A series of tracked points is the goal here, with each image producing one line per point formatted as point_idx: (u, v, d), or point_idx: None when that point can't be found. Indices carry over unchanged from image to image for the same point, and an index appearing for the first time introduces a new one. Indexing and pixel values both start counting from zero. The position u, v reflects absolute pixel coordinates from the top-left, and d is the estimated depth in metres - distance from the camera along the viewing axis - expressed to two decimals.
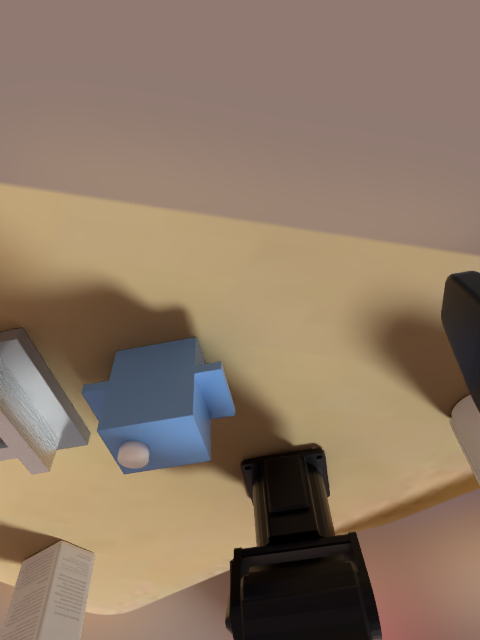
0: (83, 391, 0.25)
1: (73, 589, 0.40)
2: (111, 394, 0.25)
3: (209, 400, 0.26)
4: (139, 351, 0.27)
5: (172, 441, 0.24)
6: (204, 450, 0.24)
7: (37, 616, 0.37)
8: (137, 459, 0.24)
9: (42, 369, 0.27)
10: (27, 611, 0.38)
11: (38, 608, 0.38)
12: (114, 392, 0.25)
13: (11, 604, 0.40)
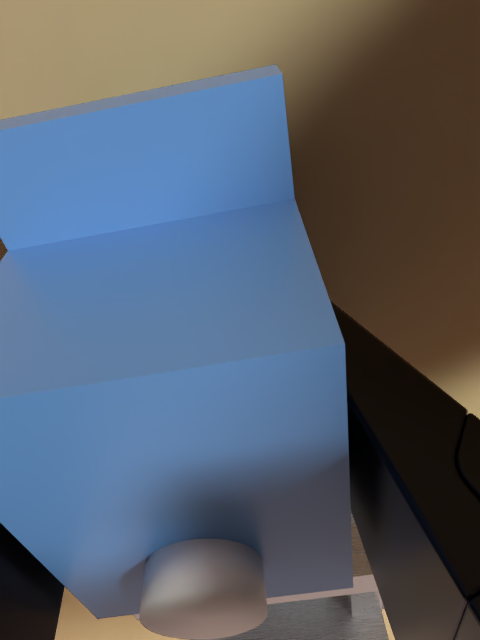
0: None
1: None
2: None
3: (166, 200, 0.06)
4: None
5: (141, 484, 0.05)
6: (227, 372, 0.04)
7: None
8: (205, 610, 0.06)
9: None
10: None
11: None
12: None
13: None
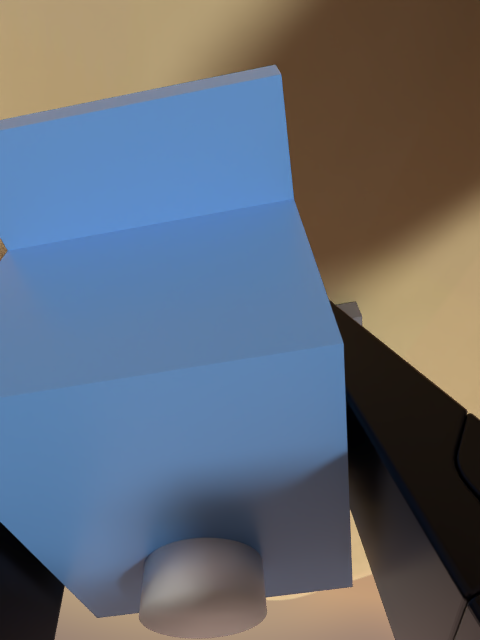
0: None
1: None
2: None
3: (165, 200, 0.06)
4: None
5: (140, 483, 0.05)
6: (226, 372, 0.04)
7: None
8: (205, 609, 0.06)
9: None
10: None
11: None
12: None
13: None
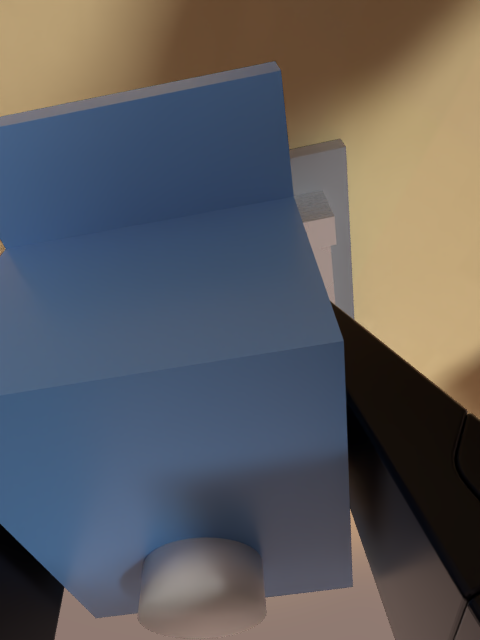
0: None
1: None
2: None
3: (164, 198, 0.06)
4: None
5: (138, 482, 0.05)
6: (225, 369, 0.04)
7: None
8: (204, 609, 0.06)
9: None
10: None
11: None
12: None
13: None
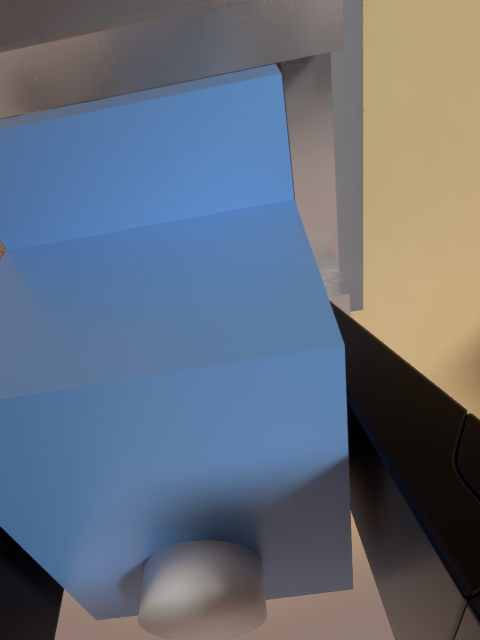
0: None
1: None
2: None
3: (165, 200, 0.06)
4: None
5: (139, 487, 0.05)
6: (226, 374, 0.04)
7: None
8: (204, 612, 0.06)
9: None
10: None
11: None
12: None
13: None
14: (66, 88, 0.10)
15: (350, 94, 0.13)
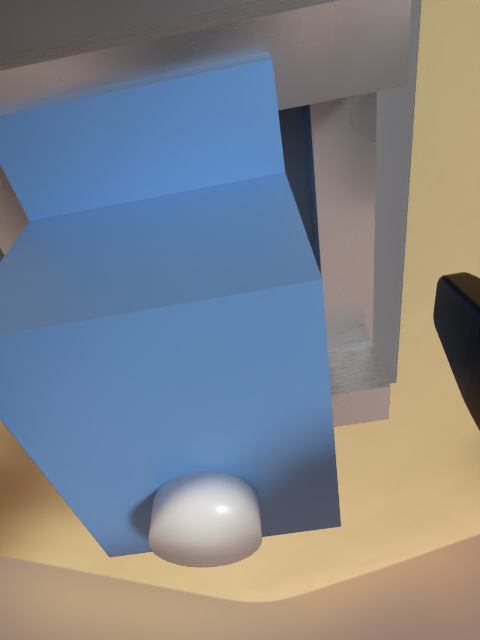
0: None
1: None
2: None
3: (170, 173, 0.07)
4: None
5: (150, 414, 0.06)
6: (224, 306, 0.05)
7: None
8: (206, 534, 0.06)
9: None
10: None
11: None
12: None
13: None
14: None
15: (396, 134, 0.10)
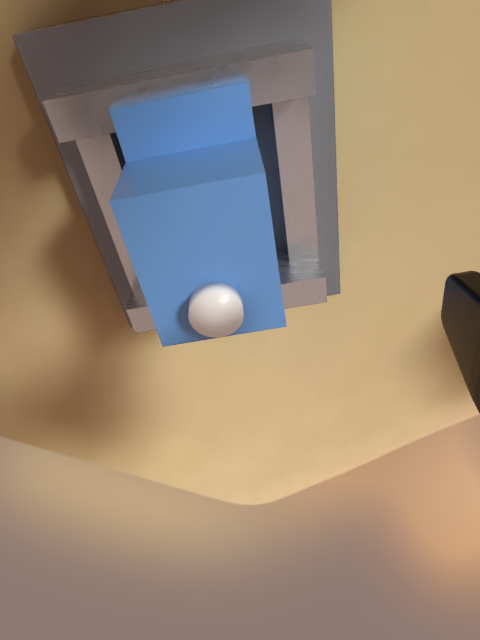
0: None
1: None
2: None
3: (199, 137, 0.13)
4: None
5: (192, 243, 0.12)
6: (226, 184, 0.11)
7: None
8: (217, 310, 0.13)
9: (103, 16, 0.14)
10: None
11: None
12: None
13: None
14: None
15: (325, 122, 0.16)
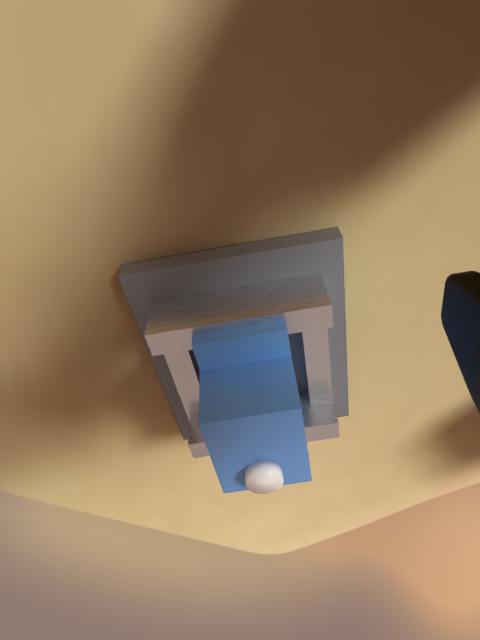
0: None
1: None
2: None
3: (251, 357, 0.19)
4: None
5: (250, 442, 0.18)
6: (275, 414, 0.17)
7: None
8: (265, 480, 0.19)
9: (181, 260, 0.20)
10: None
11: None
12: None
13: None
14: None
15: (338, 316, 0.22)
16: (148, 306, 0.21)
